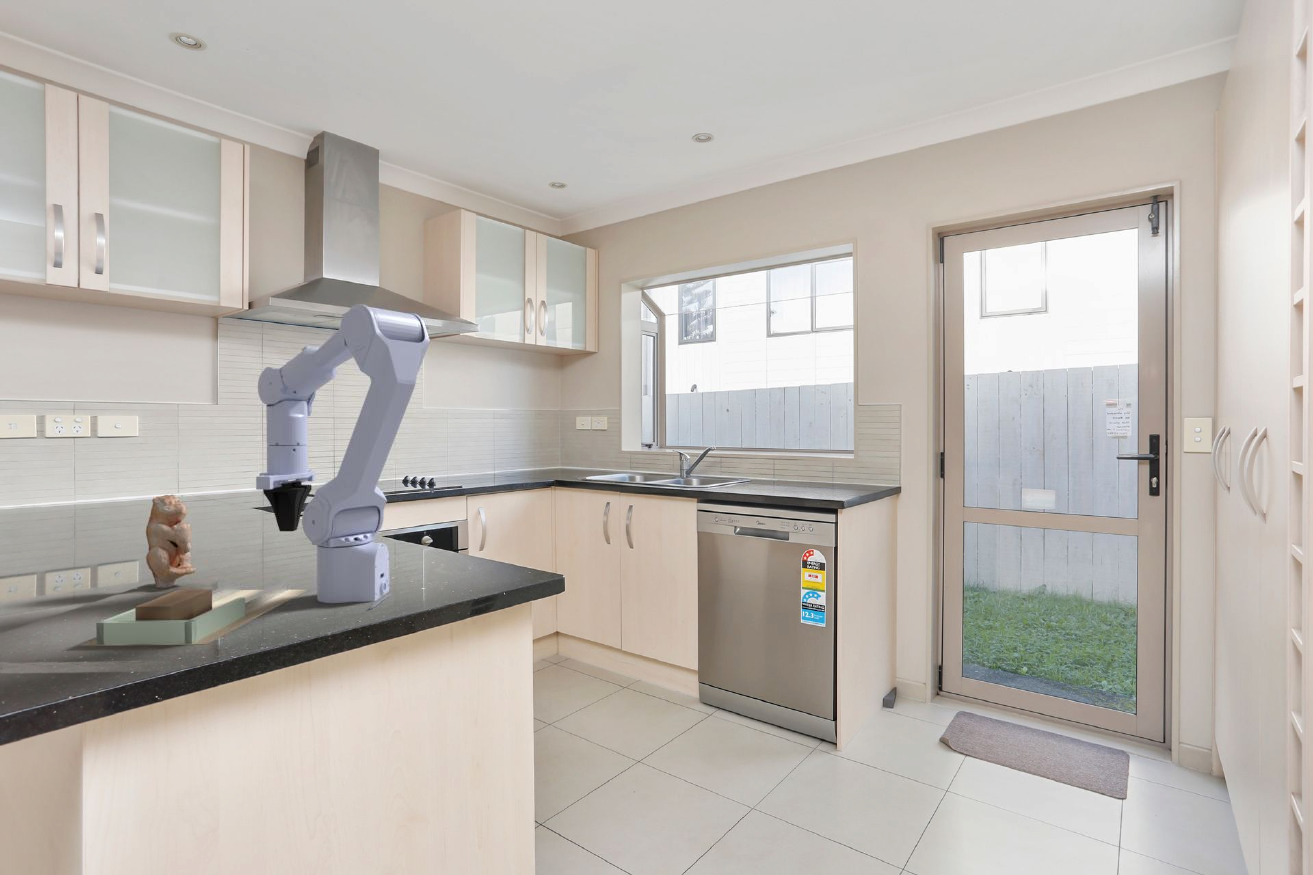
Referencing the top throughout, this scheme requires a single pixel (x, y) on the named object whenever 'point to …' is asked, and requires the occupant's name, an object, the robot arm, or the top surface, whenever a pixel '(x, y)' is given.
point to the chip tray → (167, 626)
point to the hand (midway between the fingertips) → (288, 530)
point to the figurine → (168, 541)
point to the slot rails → (252, 600)
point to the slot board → (248, 617)
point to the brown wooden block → (195, 599)
